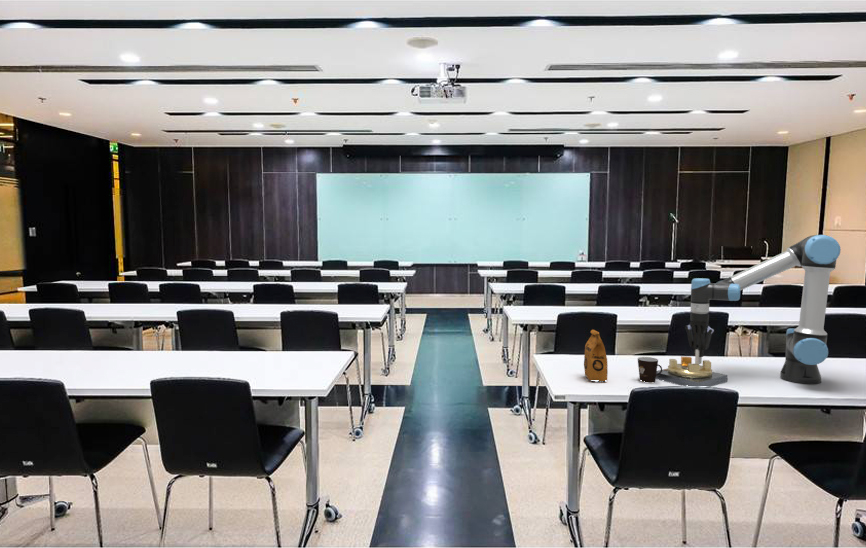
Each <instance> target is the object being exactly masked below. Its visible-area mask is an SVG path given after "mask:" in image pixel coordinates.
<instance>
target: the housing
mask: <svg viewBox="0 0 866 548" xmlns="http://www.w3.org/2000/svg"><path fill="white" fill-rule="evenodd" d="M660 371H661V369H659V370H658V369H657V372H656V374H658V373H660ZM658 379H659V381H662V380H664V381H663V382H666V381H667V383H670V382H671V384H674V383H675V385H679V386H682V385H688V386H710V387H713V386H716V385H720V384H723V383H727V382H728V379H729V378H728V374H723V373H721V372H720V373H719V372H715V371H712V376H711V377H706V378H690V377H682V376H677V375H674V374H671V373H669V372H668V367H667V368H664V369H663V368H662V372H661V373H660V374H659V375H657V376H656V379H655V380H658Z"/></svg>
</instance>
